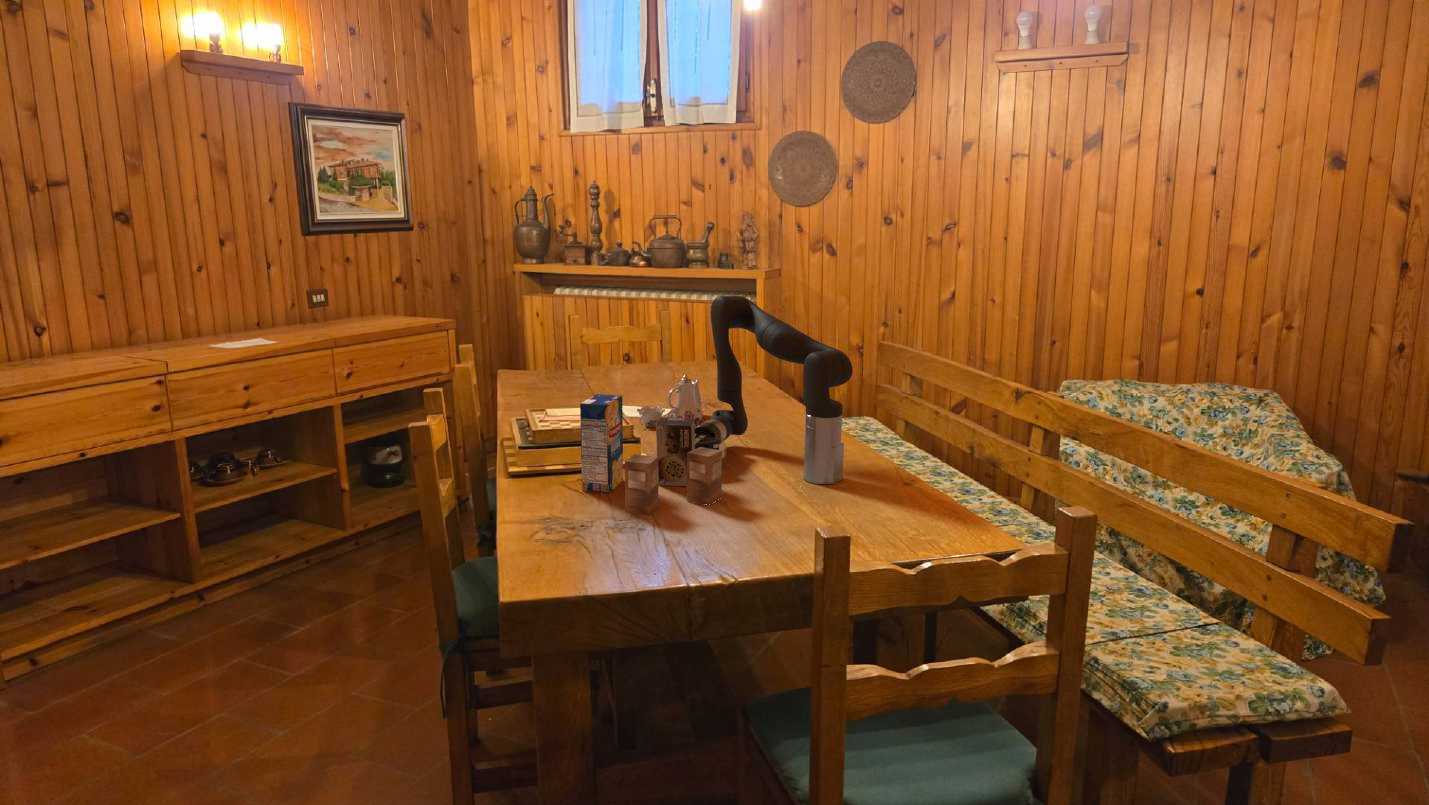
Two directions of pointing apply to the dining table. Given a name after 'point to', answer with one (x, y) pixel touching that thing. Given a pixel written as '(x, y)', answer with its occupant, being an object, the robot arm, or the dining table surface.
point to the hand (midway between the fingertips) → (684, 451)
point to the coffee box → (674, 449)
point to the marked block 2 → (704, 475)
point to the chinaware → (677, 404)
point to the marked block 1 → (641, 484)
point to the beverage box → (601, 443)
